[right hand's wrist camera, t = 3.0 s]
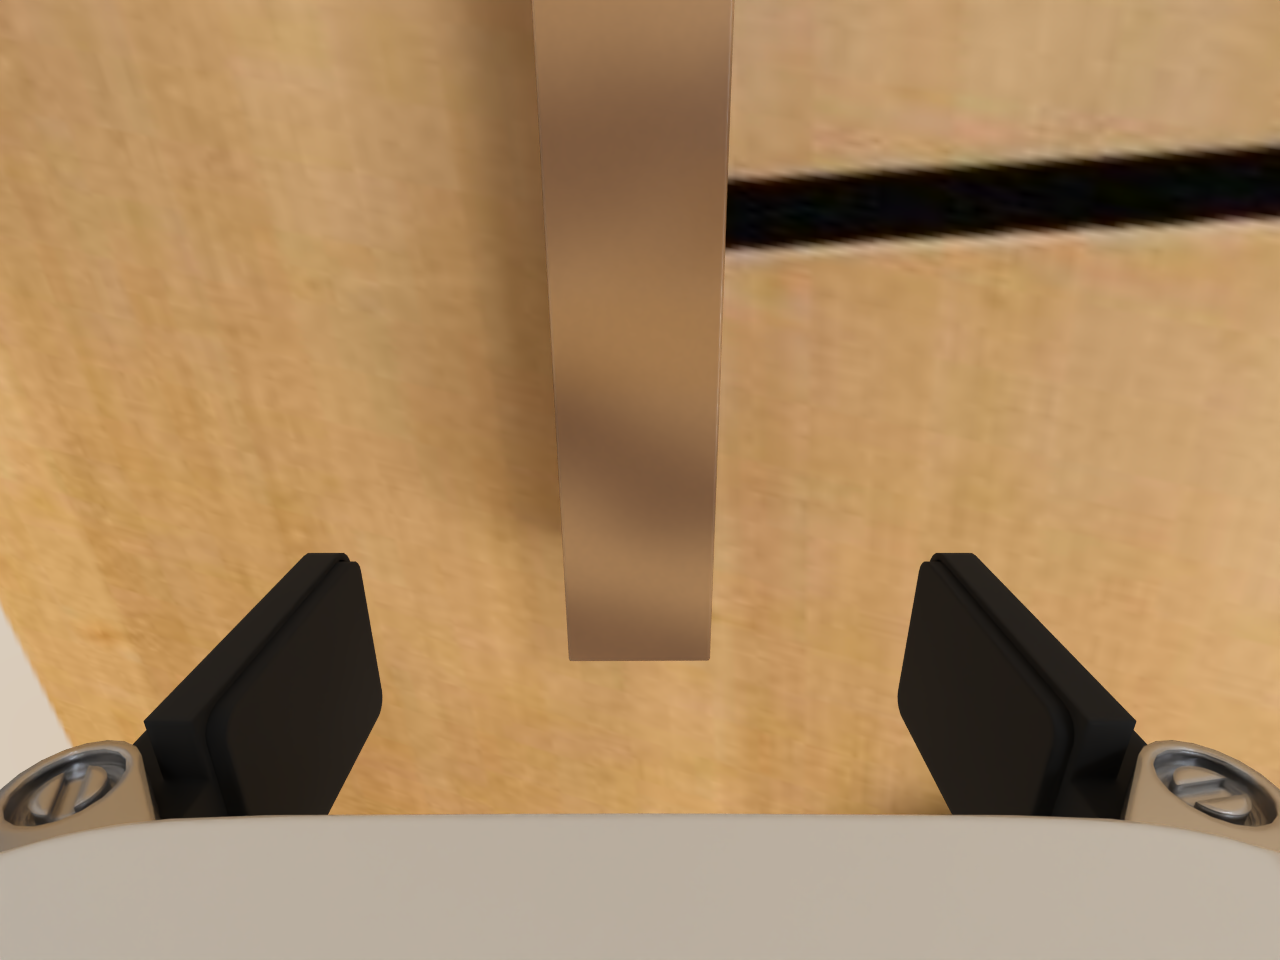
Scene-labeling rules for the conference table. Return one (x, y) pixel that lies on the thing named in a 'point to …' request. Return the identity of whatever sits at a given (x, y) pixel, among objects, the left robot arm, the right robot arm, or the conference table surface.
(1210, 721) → the conference table surface
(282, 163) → the conference table surface
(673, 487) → the beam
